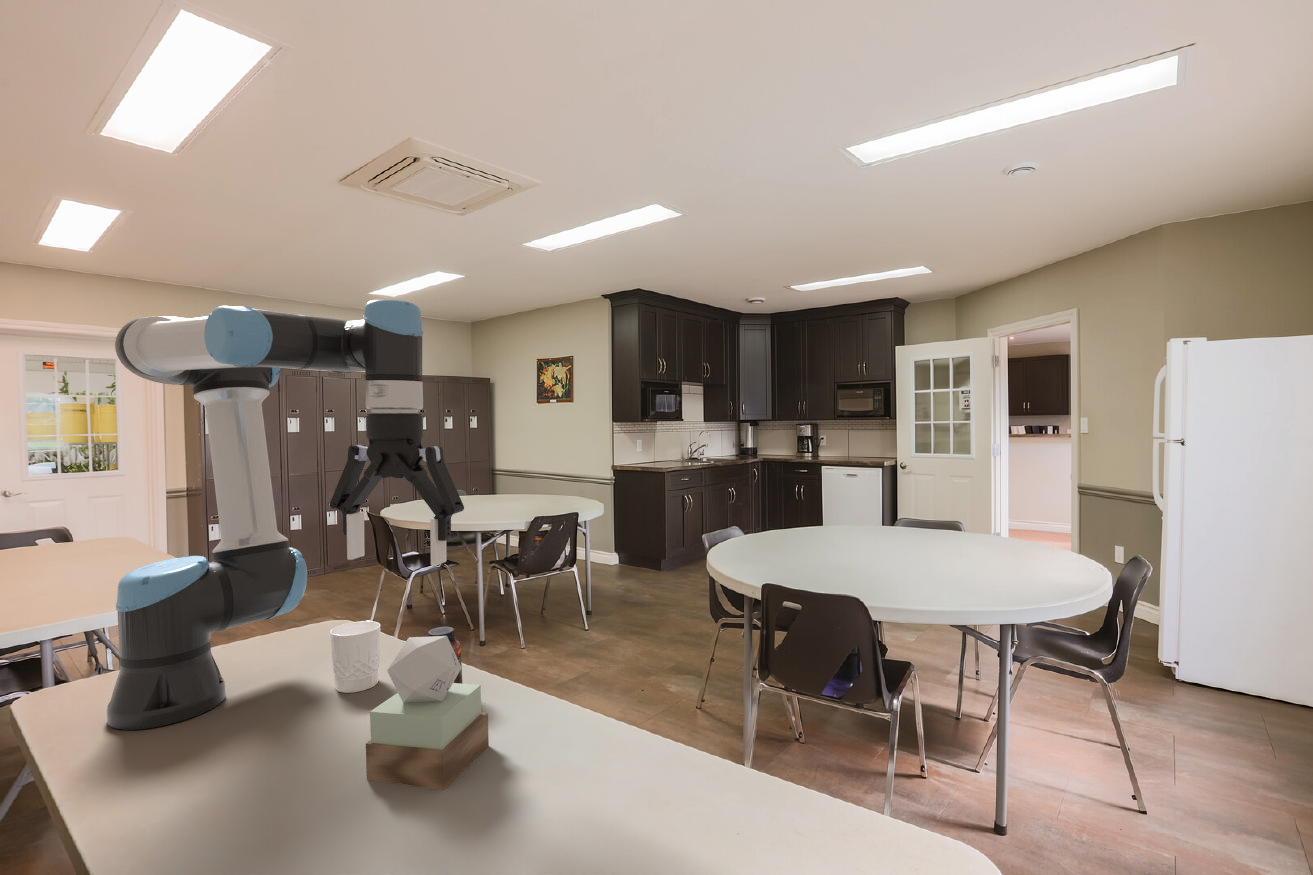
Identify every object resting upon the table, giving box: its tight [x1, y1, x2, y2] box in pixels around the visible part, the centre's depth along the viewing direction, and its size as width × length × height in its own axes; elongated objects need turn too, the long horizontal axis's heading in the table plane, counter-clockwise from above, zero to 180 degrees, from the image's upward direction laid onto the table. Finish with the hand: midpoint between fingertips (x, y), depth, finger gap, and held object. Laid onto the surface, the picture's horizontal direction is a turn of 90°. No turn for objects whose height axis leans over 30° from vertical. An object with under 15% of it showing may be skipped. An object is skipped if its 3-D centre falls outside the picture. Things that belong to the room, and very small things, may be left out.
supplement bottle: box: [427, 626, 463, 684], centre depth 105 cm, size 6×6×11 cm
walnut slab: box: [365, 711, 490, 791], centre depth 86 cm, size 11×11×5 cm
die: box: [386, 636, 463, 703], centre depth 85 cm, size 8×9×10 cm
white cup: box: [329, 620, 381, 694], centre depth 111 cm, size 8×8×10 cm
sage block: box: [369, 683, 482, 750], centre depth 85 cm, size 10×10×4 cm
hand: (396, 560), depth 92 cm, fingers open, 13 cm apart
